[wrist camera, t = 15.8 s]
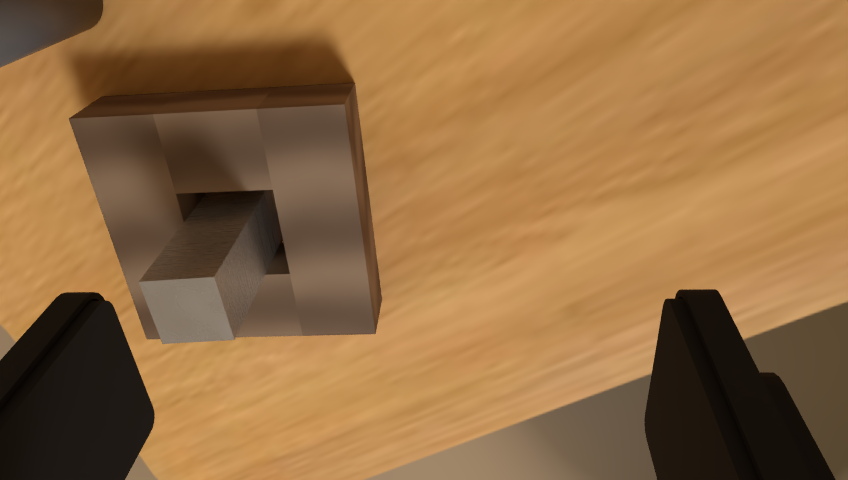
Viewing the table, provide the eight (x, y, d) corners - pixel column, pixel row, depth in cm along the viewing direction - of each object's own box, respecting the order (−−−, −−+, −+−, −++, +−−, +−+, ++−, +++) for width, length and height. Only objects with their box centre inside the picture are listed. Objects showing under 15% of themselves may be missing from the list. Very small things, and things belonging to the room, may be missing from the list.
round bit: (22, -35, 38) (-156, 6, 27) (85, -47, 37) (-73, -10, 27) (53, 36, 40) (-103, 99, 29) (113, 25, 39) (-24, 87, 29)
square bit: (215, 181, 44) (138, 282, 34) (274, 176, 44) (214, 276, 33) (230, 233, 46) (162, 343, 36) (286, 229, 45) (234, 339, 35)
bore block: (101, 96, 41) (68, 118, 38) (354, 82, 40) (344, 104, 37) (169, 305, 49) (146, 339, 46) (381, 299, 48) (375, 334, 45)
